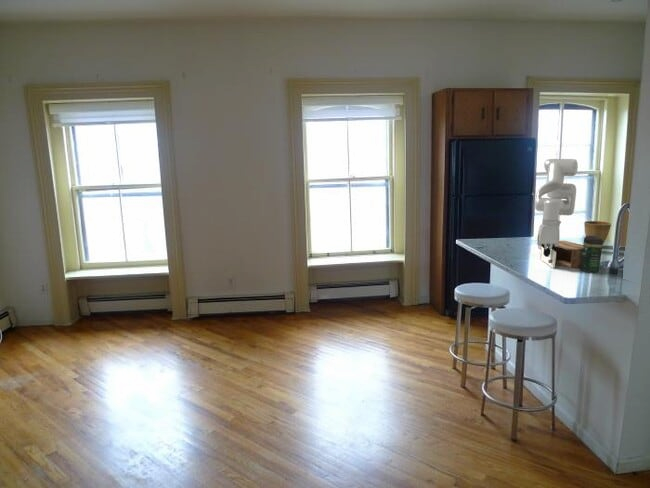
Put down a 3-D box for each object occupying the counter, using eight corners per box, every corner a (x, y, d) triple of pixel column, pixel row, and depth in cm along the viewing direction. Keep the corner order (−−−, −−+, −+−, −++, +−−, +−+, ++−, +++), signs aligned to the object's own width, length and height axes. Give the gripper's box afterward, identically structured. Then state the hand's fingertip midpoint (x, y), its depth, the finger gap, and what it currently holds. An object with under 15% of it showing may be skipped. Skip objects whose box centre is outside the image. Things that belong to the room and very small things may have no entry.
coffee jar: (601, 273, 225) (606, 238, 221) (584, 272, 227) (588, 237, 223) (594, 268, 235) (598, 234, 231) (578, 267, 236) (582, 234, 232)
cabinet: (561, 257, 257) (563, 240, 255) (591, 266, 239) (593, 247, 237) (542, 259, 253) (544, 242, 251) (571, 268, 235) (573, 249, 232)
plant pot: (598, 244, 293) (601, 220, 289) (613, 249, 278) (616, 224, 275) (576, 244, 293) (579, 220, 289) (590, 249, 278) (593, 224, 275)
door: (542, 259, 253) (543, 244, 251) (554, 267, 235) (556, 252, 233) (537, 258, 254) (538, 244, 252) (549, 267, 235) (551, 251, 233)
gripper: (562, 222, 236) (559, 255, 240) (533, 221, 239) (530, 254, 242) (567, 224, 229) (563, 258, 233) (537, 223, 232) (533, 257, 235)
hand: (546, 256), depth 237 cm, fingers closed
